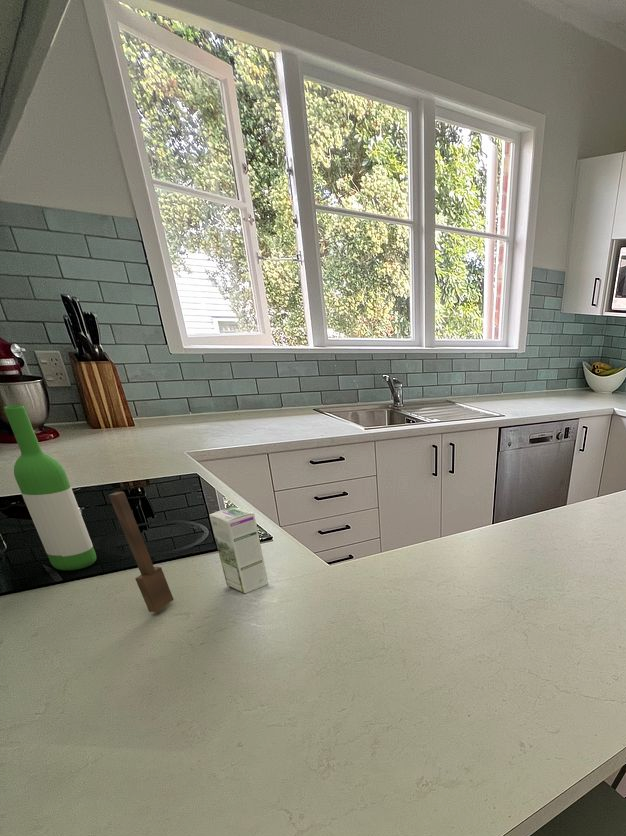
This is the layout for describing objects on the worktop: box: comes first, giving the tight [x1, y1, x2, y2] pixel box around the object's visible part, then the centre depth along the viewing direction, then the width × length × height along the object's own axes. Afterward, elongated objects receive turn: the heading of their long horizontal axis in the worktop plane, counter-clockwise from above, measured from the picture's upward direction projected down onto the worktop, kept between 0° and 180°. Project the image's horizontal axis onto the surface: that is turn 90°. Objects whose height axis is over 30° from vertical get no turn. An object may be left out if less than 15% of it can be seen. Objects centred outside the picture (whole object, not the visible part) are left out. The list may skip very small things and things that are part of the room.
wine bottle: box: [3, 404, 97, 572], centre depth 102 cm, size 8×8×30 cm
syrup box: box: [208, 506, 269, 594], centre depth 101 cm, size 6×6×14 cm
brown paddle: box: [108, 491, 174, 613], centre depth 90 cm, size 20×5×1 cm
